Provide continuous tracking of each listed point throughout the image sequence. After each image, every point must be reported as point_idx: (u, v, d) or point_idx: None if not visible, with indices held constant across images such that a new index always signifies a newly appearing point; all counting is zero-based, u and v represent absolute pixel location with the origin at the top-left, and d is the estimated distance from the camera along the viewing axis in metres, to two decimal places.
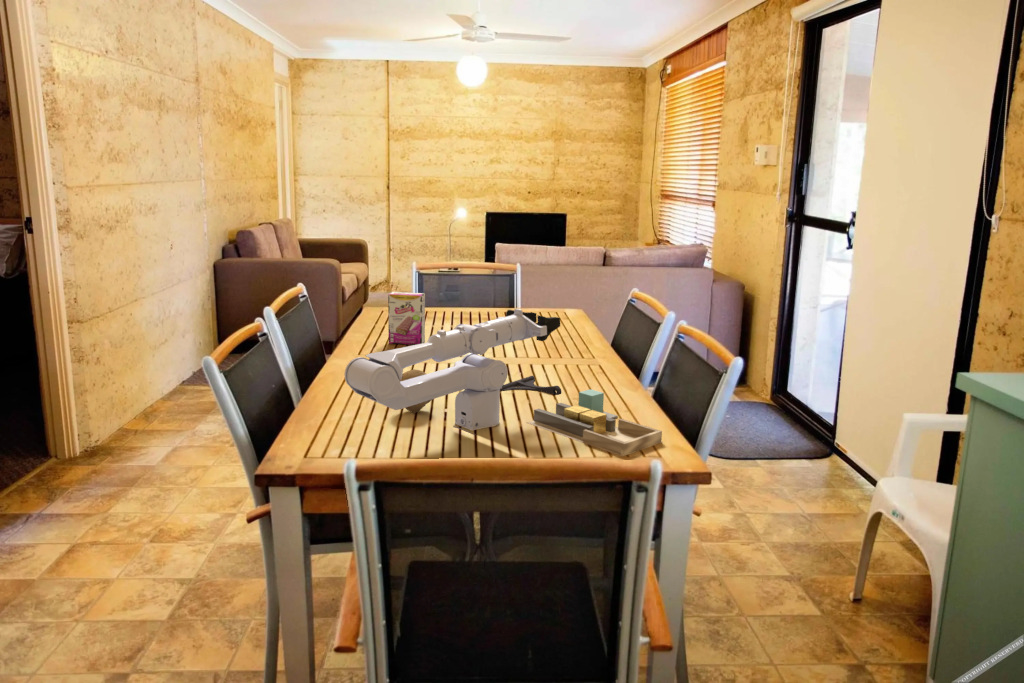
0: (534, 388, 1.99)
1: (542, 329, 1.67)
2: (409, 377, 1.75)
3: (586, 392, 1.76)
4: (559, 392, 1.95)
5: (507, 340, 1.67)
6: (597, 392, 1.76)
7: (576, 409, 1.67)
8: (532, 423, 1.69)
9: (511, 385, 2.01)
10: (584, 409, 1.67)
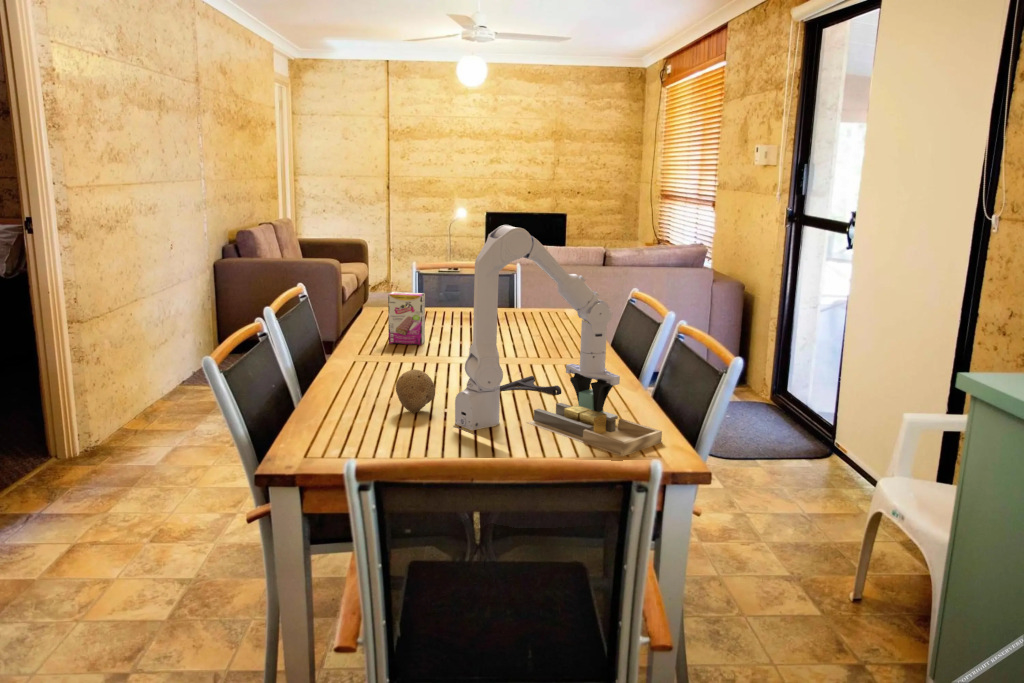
0: (534, 388, 1.99)
1: (618, 378, 1.70)
2: (409, 377, 1.75)
3: (586, 392, 1.76)
4: (559, 392, 1.95)
5: (590, 349, 1.71)
6: None
7: (576, 409, 1.67)
8: (532, 423, 1.69)
9: (511, 385, 2.01)
10: (584, 409, 1.67)
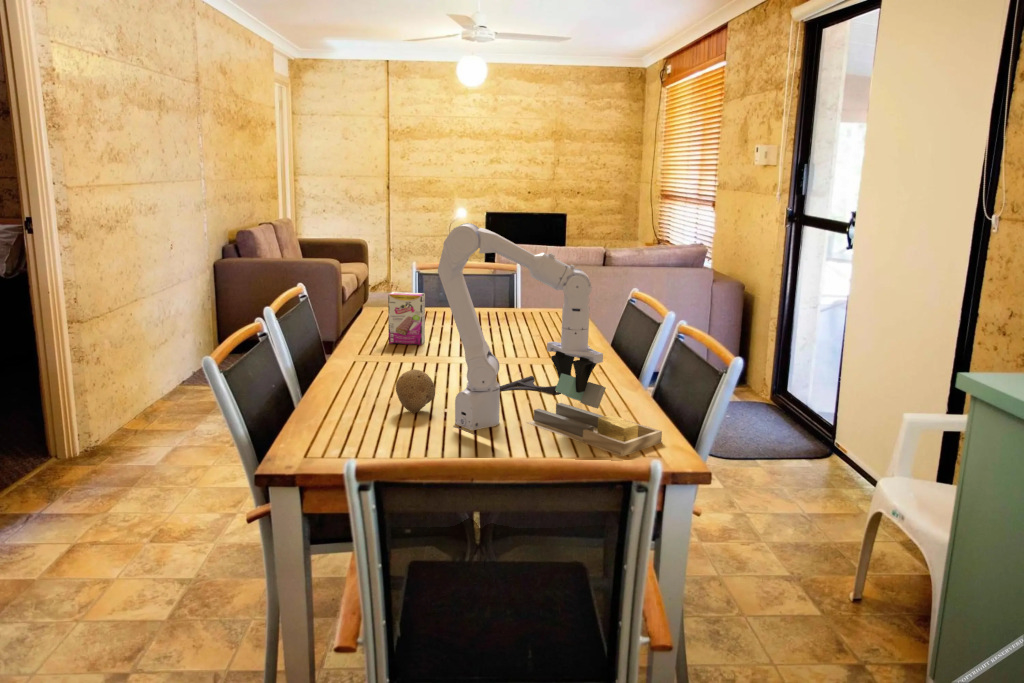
0: (534, 388, 1.99)
1: (601, 356, 1.60)
2: (409, 377, 1.75)
3: (560, 386, 1.65)
4: None
5: (568, 325, 1.62)
6: (569, 379, 1.65)
7: (610, 418, 1.60)
8: (532, 423, 1.69)
9: (511, 385, 2.01)
10: (619, 419, 1.60)
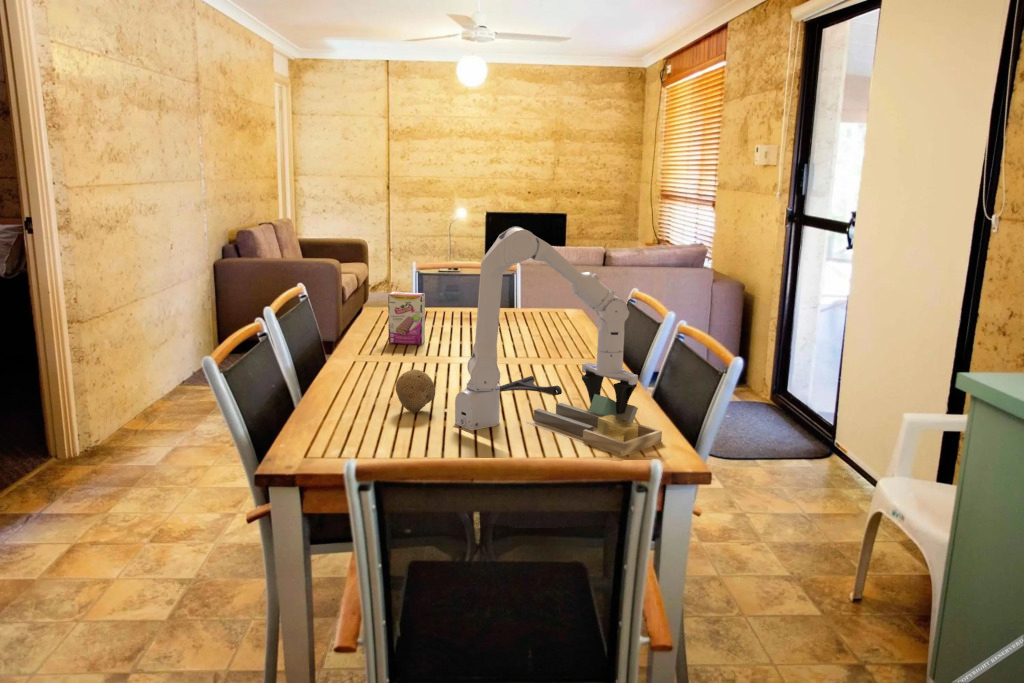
0: (534, 388, 1.99)
1: (636, 378, 1.66)
2: (409, 377, 1.75)
3: (594, 406, 1.71)
4: (559, 392, 1.95)
5: (606, 348, 1.68)
6: (603, 399, 1.70)
7: (610, 418, 1.60)
8: (532, 423, 1.69)
9: (511, 385, 2.01)
10: (619, 419, 1.60)
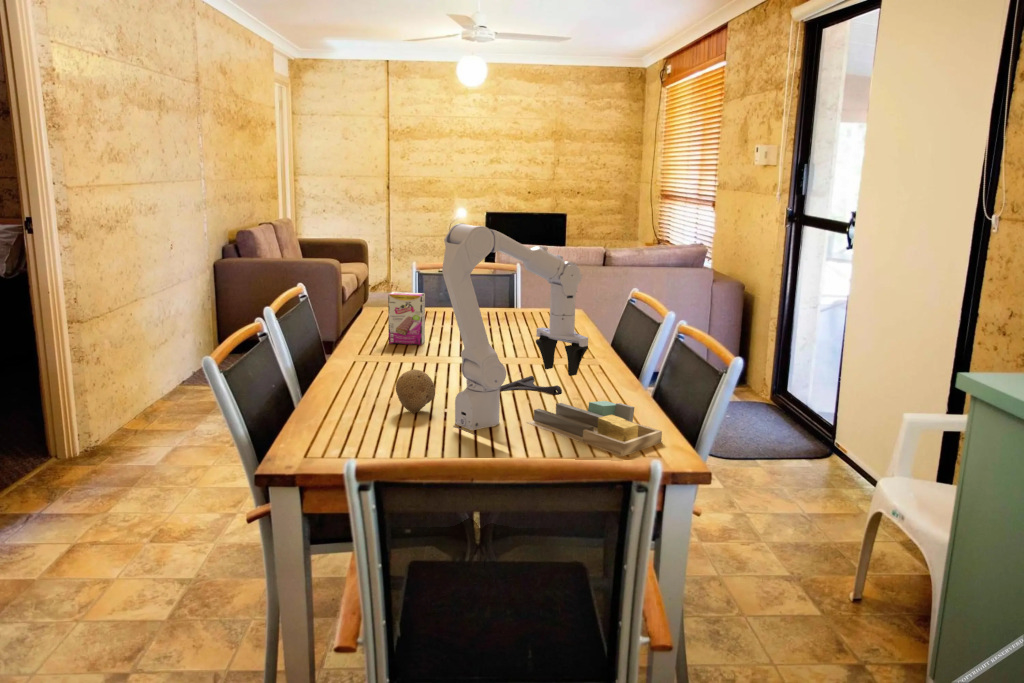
0: (534, 388, 1.99)
1: (586, 340, 1.72)
2: (409, 377, 1.75)
3: None
4: (560, 392, 1.95)
5: (562, 311, 1.72)
6: (598, 408, 1.69)
7: (610, 418, 1.60)
8: (532, 423, 1.69)
9: (511, 385, 2.01)
10: (619, 419, 1.60)
